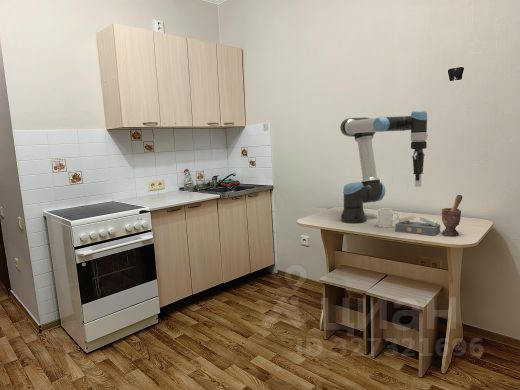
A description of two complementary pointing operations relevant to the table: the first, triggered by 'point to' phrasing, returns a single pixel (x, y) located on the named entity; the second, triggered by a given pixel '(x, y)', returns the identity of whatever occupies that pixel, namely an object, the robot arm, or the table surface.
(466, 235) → the table surface
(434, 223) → the rocker
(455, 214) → the mortar and pestle
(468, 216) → the table surface
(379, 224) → the mug
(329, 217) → the table surface
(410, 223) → the switch unit
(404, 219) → the rocker
